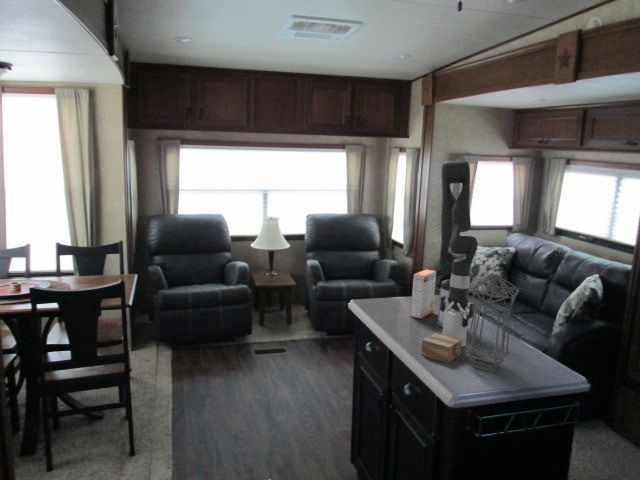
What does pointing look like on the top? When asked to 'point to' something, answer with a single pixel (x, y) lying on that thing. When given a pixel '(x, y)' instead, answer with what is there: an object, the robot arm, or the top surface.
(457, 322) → the skincare box
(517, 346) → the top surface
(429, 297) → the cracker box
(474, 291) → the geometric lantern
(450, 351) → the light brown block
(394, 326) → the top surface
